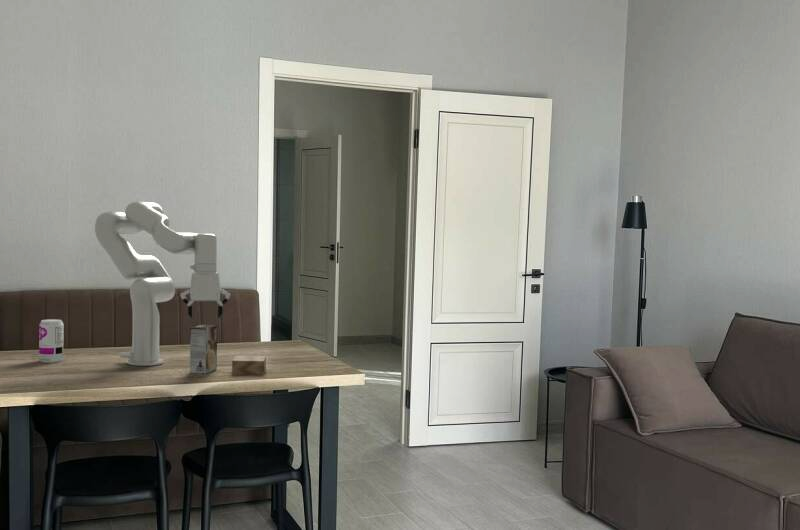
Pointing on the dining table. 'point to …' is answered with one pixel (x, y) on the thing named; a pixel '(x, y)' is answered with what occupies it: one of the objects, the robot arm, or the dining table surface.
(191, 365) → the coffee box
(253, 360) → the walnut block
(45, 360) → the supplement can
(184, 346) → the dining table surface
